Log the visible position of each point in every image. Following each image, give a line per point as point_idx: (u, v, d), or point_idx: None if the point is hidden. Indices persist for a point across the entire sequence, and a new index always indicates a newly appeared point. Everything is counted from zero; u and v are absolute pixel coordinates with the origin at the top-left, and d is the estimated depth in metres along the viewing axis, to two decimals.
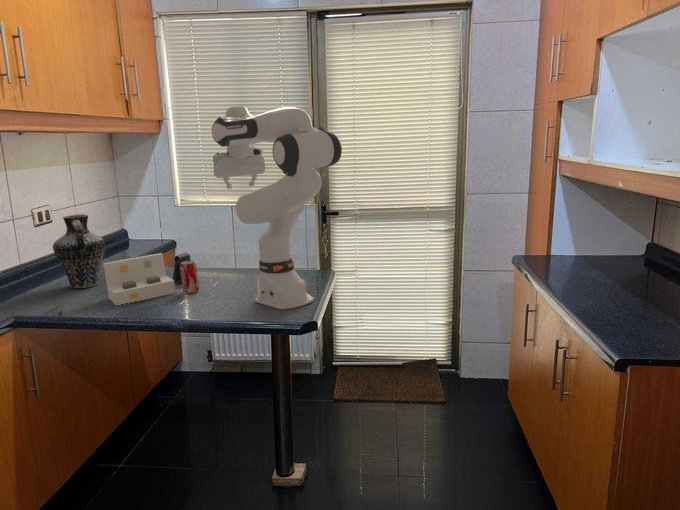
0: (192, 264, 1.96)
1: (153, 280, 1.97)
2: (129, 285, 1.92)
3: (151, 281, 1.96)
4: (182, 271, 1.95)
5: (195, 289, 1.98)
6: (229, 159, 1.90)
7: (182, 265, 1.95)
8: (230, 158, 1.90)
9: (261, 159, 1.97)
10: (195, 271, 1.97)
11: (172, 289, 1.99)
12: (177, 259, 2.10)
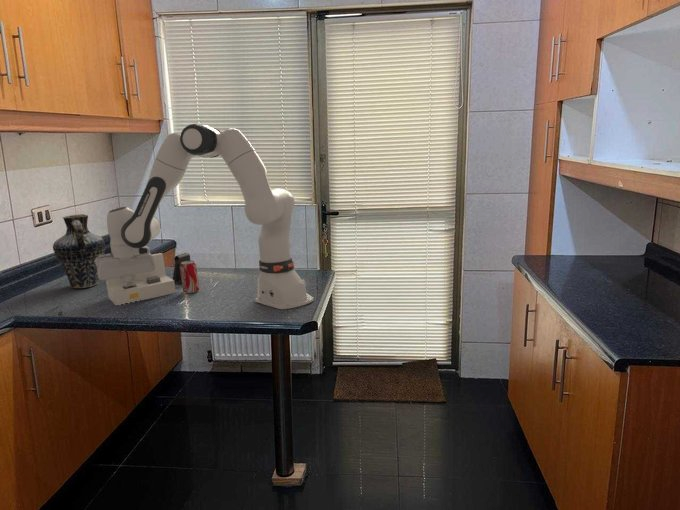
0: (192, 264, 1.96)
1: (153, 280, 1.97)
2: None
3: (151, 281, 1.96)
4: (182, 271, 1.95)
5: (195, 289, 1.98)
6: (112, 261, 1.87)
7: (182, 265, 1.95)
8: (114, 259, 1.87)
9: (149, 257, 1.94)
10: (195, 271, 1.97)
11: (172, 289, 1.99)
12: (177, 259, 2.10)
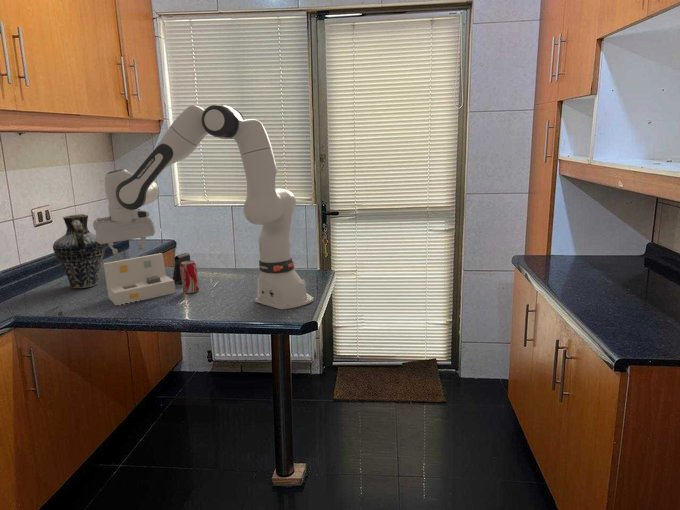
0: (192, 264, 1.96)
1: (153, 280, 1.97)
2: None
3: (151, 281, 1.96)
4: (182, 271, 1.95)
5: (195, 289, 1.98)
6: (111, 224, 1.83)
7: (182, 265, 1.95)
8: (112, 223, 1.84)
9: (148, 221, 1.90)
10: (195, 271, 1.97)
11: (172, 289, 1.99)
12: (177, 259, 2.10)
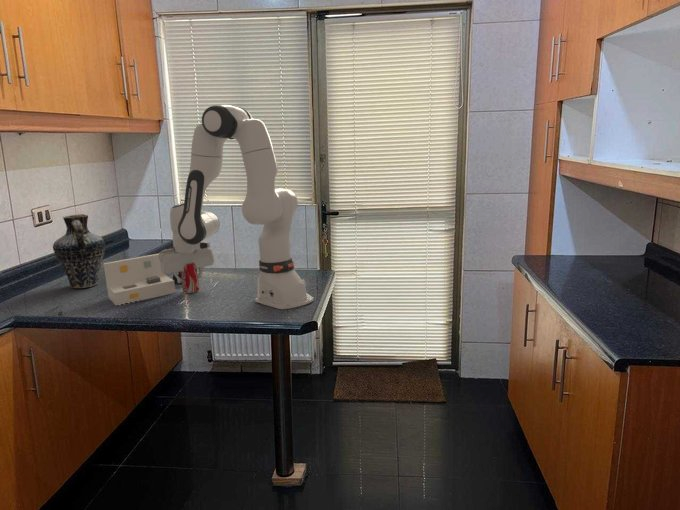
0: (192, 264, 1.96)
1: (153, 280, 1.97)
2: None
3: (151, 281, 1.96)
4: (182, 271, 1.95)
5: (195, 289, 1.98)
6: (175, 255, 1.92)
7: None
8: (176, 254, 1.92)
9: (209, 252, 1.99)
10: (195, 271, 1.97)
11: (172, 289, 1.99)
12: None
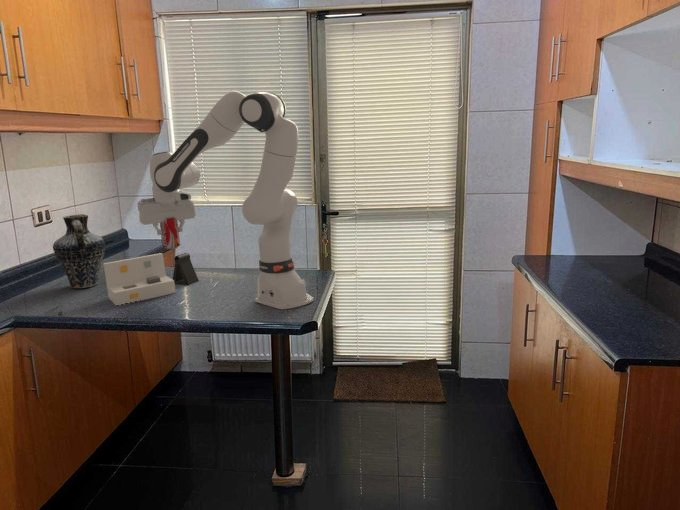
0: (173, 218, 1.91)
1: (153, 280, 1.97)
2: None
3: (151, 281, 1.96)
4: (162, 225, 1.90)
5: (175, 245, 1.92)
6: (155, 205, 1.87)
7: None
8: (156, 204, 1.87)
9: (190, 204, 1.94)
10: (176, 226, 1.92)
11: (172, 289, 1.99)
12: (177, 259, 2.10)
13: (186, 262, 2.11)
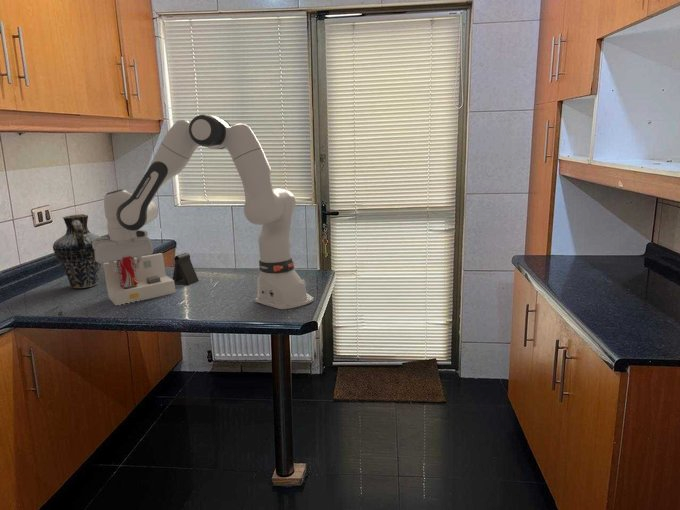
0: (129, 258, 1.90)
1: (153, 280, 1.97)
2: None
3: (151, 281, 1.96)
4: (118, 265, 1.89)
5: (132, 283, 1.91)
6: (110, 243, 1.85)
7: None
8: (111, 242, 1.86)
9: (147, 240, 1.93)
10: (132, 265, 1.91)
11: (172, 289, 1.99)
12: (177, 259, 2.10)
13: (186, 262, 2.11)
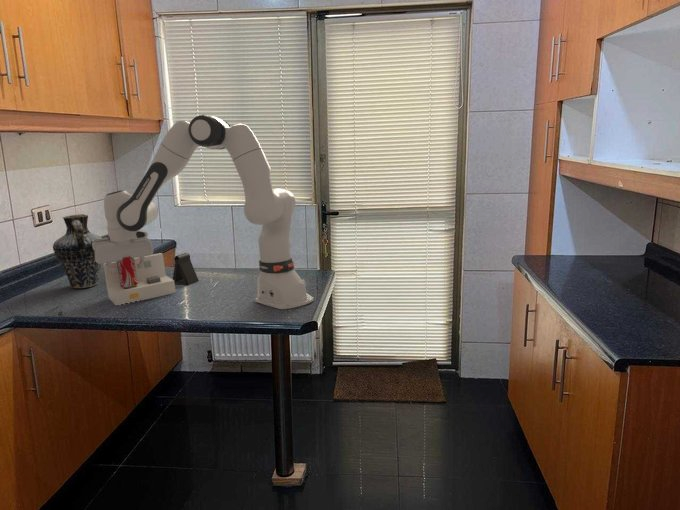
0: (129, 258, 1.90)
1: (153, 280, 1.97)
2: None
3: (151, 281, 1.96)
4: (118, 265, 1.89)
5: (132, 283, 1.91)
6: (110, 244, 1.85)
7: None
8: (111, 243, 1.86)
9: (147, 241, 1.92)
10: (132, 265, 1.91)
11: (172, 289, 1.99)
12: (177, 259, 2.10)
13: (186, 262, 2.11)
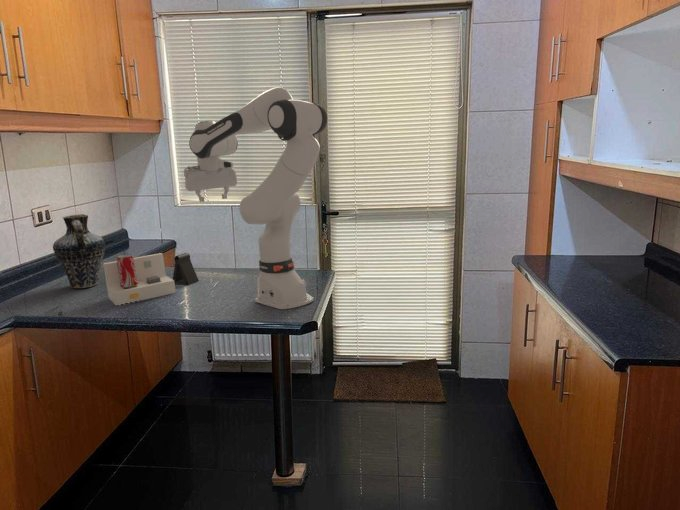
0: (129, 258, 1.90)
1: (153, 280, 1.97)
2: None
3: (151, 281, 1.96)
4: (118, 265, 1.89)
5: (132, 283, 1.91)
6: (200, 172, 1.95)
7: (118, 259, 1.89)
8: (201, 171, 1.95)
9: (232, 172, 2.02)
10: (132, 265, 1.91)
11: (172, 289, 1.99)
12: (177, 259, 2.10)
13: (186, 262, 2.11)
